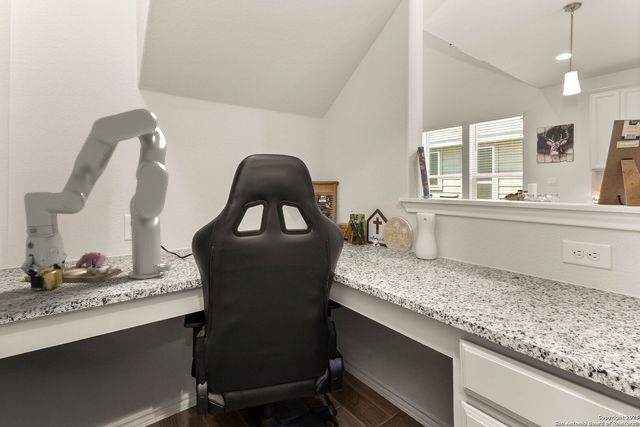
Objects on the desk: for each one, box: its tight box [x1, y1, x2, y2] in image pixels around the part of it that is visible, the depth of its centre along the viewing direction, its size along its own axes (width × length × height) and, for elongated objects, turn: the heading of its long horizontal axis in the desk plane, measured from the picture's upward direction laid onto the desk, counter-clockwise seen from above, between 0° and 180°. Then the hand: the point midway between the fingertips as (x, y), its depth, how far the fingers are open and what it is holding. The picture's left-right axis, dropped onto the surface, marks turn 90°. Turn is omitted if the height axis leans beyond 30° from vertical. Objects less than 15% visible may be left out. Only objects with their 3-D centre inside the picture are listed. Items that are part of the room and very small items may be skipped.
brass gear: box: [35, 268, 63, 291], centre depth 103 cm, size 7×7×5 cm
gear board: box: [24, 259, 123, 283], centre depth 116 cm, size 26×12×6 cm, turn 91°
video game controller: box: [75, 251, 107, 268], centre depth 130 cm, size 10×5×7 cm, turn 85°
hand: (47, 283), depth 104 cm, fingers closed on brass gear, 7 cm apart
